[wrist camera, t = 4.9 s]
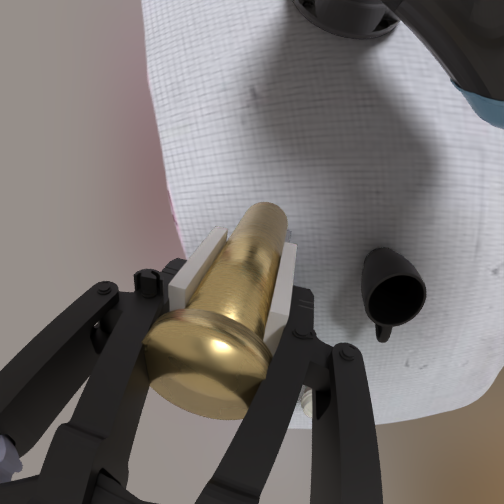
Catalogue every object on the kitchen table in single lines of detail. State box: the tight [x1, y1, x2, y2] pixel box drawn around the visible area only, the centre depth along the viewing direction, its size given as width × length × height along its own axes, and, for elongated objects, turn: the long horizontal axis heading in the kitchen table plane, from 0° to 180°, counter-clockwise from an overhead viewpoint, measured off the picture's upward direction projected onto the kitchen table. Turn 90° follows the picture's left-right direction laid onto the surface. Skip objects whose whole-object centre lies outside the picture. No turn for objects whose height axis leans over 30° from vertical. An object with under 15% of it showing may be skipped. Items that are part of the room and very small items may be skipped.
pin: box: [141, 202, 288, 420], centre depth 15 cm, size 5×5×15 cm
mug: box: [361, 247, 426, 343], centre depth 35 cm, size 8×12×10 cm
